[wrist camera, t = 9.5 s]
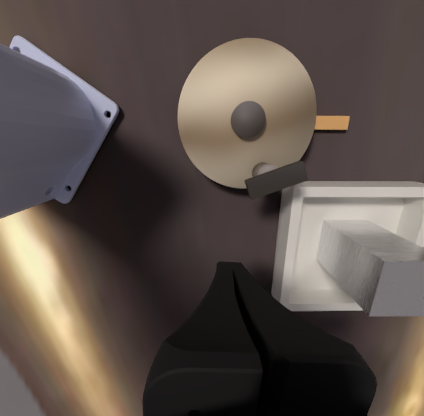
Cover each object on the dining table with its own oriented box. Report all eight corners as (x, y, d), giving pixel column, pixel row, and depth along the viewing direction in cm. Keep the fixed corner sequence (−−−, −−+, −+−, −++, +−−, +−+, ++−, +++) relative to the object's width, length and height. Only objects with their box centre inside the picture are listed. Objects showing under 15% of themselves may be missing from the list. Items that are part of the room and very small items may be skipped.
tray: (271, 293, 22) (278, 311, 20) (283, 181, 19) (293, 186, 16) (382, 292, 22) (402, 310, 20) (413, 181, 19) (443, 187, 17)
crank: (159, 77, 16) (137, 49, 11) (291, 24, 15) (331, -33, 10) (206, 200, 19) (205, 222, 14) (318, 161, 18) (361, 168, 13)
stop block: (316, 259, 21) (368, 316, 14) (323, 219, 19) (384, 261, 13) (357, 259, 21) (429, 315, 14) (366, 220, 19) (450, 261, 13)
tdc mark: (307, 129, 18) (310, 129, 17) (309, 116, 17) (311, 115, 17) (344, 129, 18) (347, 129, 17) (346, 116, 17) (349, 116, 17)
